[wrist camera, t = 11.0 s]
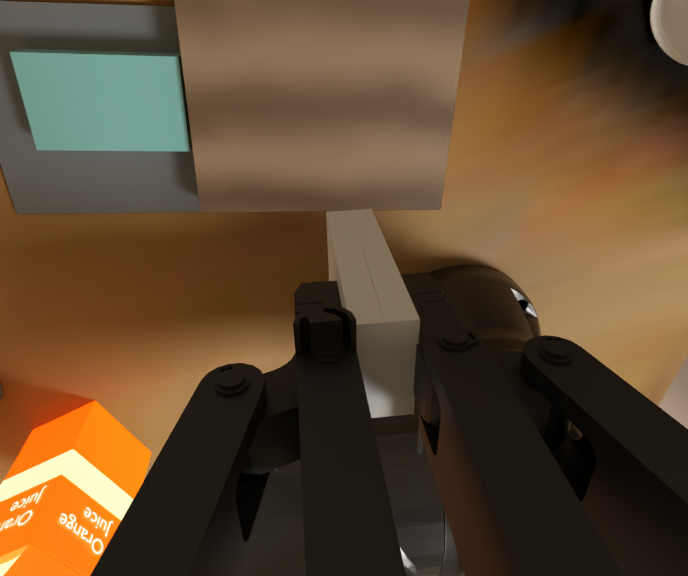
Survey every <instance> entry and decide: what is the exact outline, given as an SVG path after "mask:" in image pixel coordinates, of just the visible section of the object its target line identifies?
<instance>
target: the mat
mask: <svg viewBox="0 0 688 576" xmlns="http://www.w3.org/2000/svg"><path fill="white" fill-rule="evenodd" d="M20 49H52V50H85V51H119V52H152V53H181V51H180V43H179V35H178V27H177V19H176V11H175V6H149V5H118V4H87V3H56V2H25V1H0V165H1V168H2V171H3V174H4V177H5V180H6V183H7V186H8V189H9V192H10V195H11V198H12V201H13V204H14V207H15V210H16V213H17V214H62V213H149V212H201V211H200V203H199V195H198V187H197V179H196V171H195V163H194V155H193V147H192V149H191V150H190V152H188V151H66V150H37V149H36V145H35V142H34V138H33V135H32V131H31V127H30V124H29V120H28V117H27V113H26V109H25V106H24V102H23V99H22V95H21V91H20V88H19V84H18V81H17V77H16V73H15V70H14V66H13V63H12V59H11V55H10V52H11V51H16V50H20Z"/></svg>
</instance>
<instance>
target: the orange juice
mask: <svg viewBox="0 0 688 576" xmlns="http://www.w3.org/2000/svg"><path fill="white" fill-rule="evenodd" d="M150 456H151V452H150V451H149V450H148V449H147V448H146V447H145V446H144V445H143V444H142V443H140V442H139V441H138V440H137V439H136V438H135V437H134V436H133V435H132V434H131V433H130V432H129V431H128V430H127V429H125V428H124V427H123V426H122V425H121V424H120V423H119V422H118V421H117V420H116V419H115V418H114V417H113V416H111V415H110V414H109V413H108V412H107V411H106V410H105V409H104V408H103V407H102V406H101V405H100V404H99V403H98V402H96V401H93V402H91V403H89V404H87V405H85V406H82V407H80V408H78V409H76V410H74V411H72V412H70V413H68V414H65V415H63V416H61V417H59V418H57V419H55V420H53V421H51V422H48V423H46V424H44V425H42V426H40V427H38V428H36V429H34V430H32V432H31V434H30V435H29V437H28V439H27V441H26V442H25V444H24V446H23V448H22V450H21V451H20V453H19V455H18V457H17V458H16V460H15V462H14V464H13V465H12V467H11V469H10V471H9V472H8V474H7V476H6V478H5V479H4V481H3V482H2V483H1V485H0V576H90V575H91V573H92V571H93V570H94V568H95V566H96V564H97V563H98V561H99V559H100V557H101V555H102V554H103V552H104V550H105V548H106V547H107V545H108V543H109V541H110V540H111V538H112V536H113V534H114V533H115V531H116V529H117V527H118V526H119V524H120V522H121V520H122V519H123V517H124V515H125V513H126V512H127V510H128V508H129V506H130V505H131V503H132V501H133V499H134V497H135V496H136V494H137V492H138V490H139V489H140V487H141V485H142V483H143V481H144V478H145V474H146V470H147V467H148V463H149V460H150Z"/></svg>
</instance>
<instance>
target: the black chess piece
mask: <svg viewBox="0 0 688 576" xmlns="http://www.w3.org/2000/svg"><path fill="white" fill-rule="evenodd" d="M2 396H3V388H2V385H1V383H0V400H1V398H2Z"/></svg>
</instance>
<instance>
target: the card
mask: <svg viewBox="0 0 688 576" xmlns="http://www.w3.org/2000/svg"><path fill="white" fill-rule="evenodd" d="M10 55H11V59H12V63H13V66H14V70H15V73H16V77H17V81H18V84H19V88H20V91H21V95H22V99H23V102H24V106H25V109H26V113H27V117H28V120H29V124H30V127H31V131H32V135H33V138H34V142H35V145H36V149H37V150H66V151H188V152H190V150H191V149H192V139H191V131H190V123H189V115H188V107H187V99H186V91H185V83H184V75H183V67H182V59H181V53H152V52H119V51H85V50H52V49H20V50H16V51H11V52H10Z"/></svg>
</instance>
